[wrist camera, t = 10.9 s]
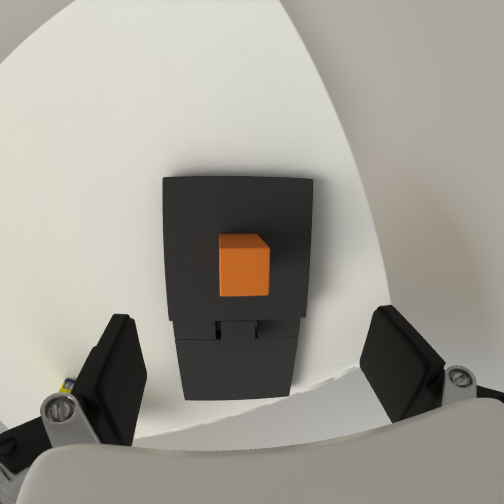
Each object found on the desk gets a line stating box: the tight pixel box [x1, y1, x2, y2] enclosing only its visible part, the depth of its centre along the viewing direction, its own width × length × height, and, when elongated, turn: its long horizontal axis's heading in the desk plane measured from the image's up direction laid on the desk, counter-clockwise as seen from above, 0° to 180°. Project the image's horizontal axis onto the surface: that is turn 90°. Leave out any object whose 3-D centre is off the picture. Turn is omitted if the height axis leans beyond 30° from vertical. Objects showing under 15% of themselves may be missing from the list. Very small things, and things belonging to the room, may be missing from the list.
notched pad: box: [173, 318, 301, 400], centre depth 28 cm, size 12×12×2 cm
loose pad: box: [163, 176, 313, 348], centre depth 21 cm, size 15×12×8 cm
